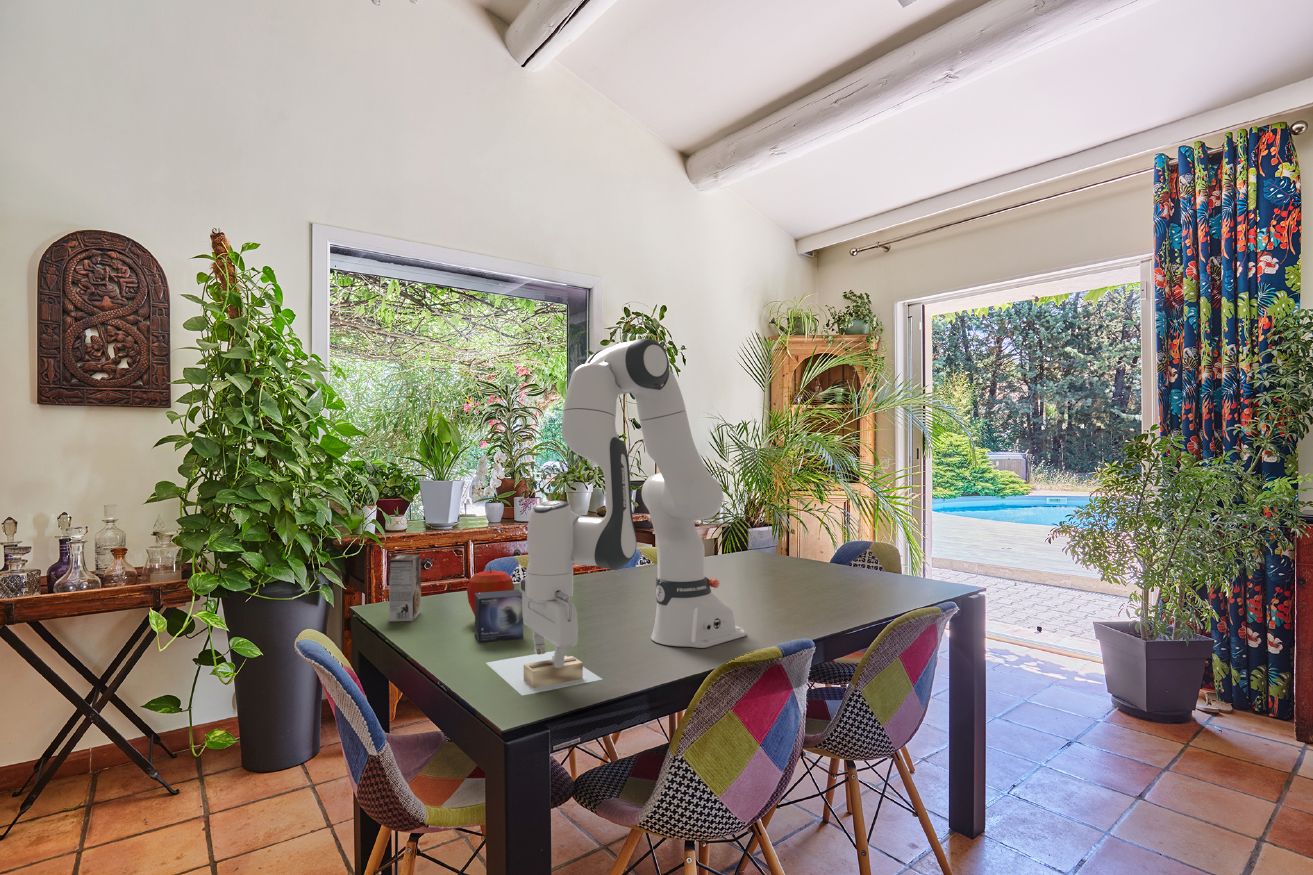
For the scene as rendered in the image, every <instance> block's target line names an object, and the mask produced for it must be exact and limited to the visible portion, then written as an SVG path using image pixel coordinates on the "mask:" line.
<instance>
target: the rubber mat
mask: <svg viewBox="0 0 1313 875" xmlns="http://www.w3.org/2000/svg"><path fill="white" fill-rule="evenodd" d="M554 653H555V650H553V651H546V652H545V653H544V654H540V655H538V654H537V653H535V654H529V655H521V656H516V657H512V658H504V659H499V660H494V661H488V662H485V664H486V665H487V666H488V667H489V668H490V669H492V670H493V671H494V672H495V673H496V675H497V676H499V677H500V678H501V679H502V680H503V681H505V682H506V683H507V684H508V685H509V686H511V687H512V688H513V690H514V691H516V692H517V693H518V694H519V695H520V696H528V695H534V694H538V693H544V692H548V691H552V690H558V689H563V688H569V687H573V686H578V685H582V684H583V685H584V684H587V683H592V682H598V681H603V680H604V679H603V678H601V677H600V676H599V675H597V674H596V673H594V672H593V671H591V670H589V669H587V668H586V667H585V666H583V678H582V679H577V680H572V681H567V682H562V683H557V684H552V685H547V686H542V687H537V688H532V687H531V686H530V685H529V684H527V683H526V682H525V681H524V664H529V663H535V662H540V661H546V660H552V657H553V656H554ZM565 657H568V656H567V655H566V654H565Z"/></svg>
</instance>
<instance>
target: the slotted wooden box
mask: <svg viewBox="0 0 1313 875" xmlns="http://www.w3.org/2000/svg"><path fill="white" fill-rule="evenodd" d="M583 665H584V663H583V661H581V660H579V659H578V658H577V657H574V656H573V655H570V656H567V657H564V666H563V667H560V668H556V667H554V666H553V665H552V660H546V661H540V662H535V663H529V664H524V681H525V682H526V683H527V684H529V685H530V686H531V687H532V688H537V687H542V686H547V685H552V684H557V683H562V682H567V681H572V680H577V679H582V678H583V667H584V666H583Z"/></svg>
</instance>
